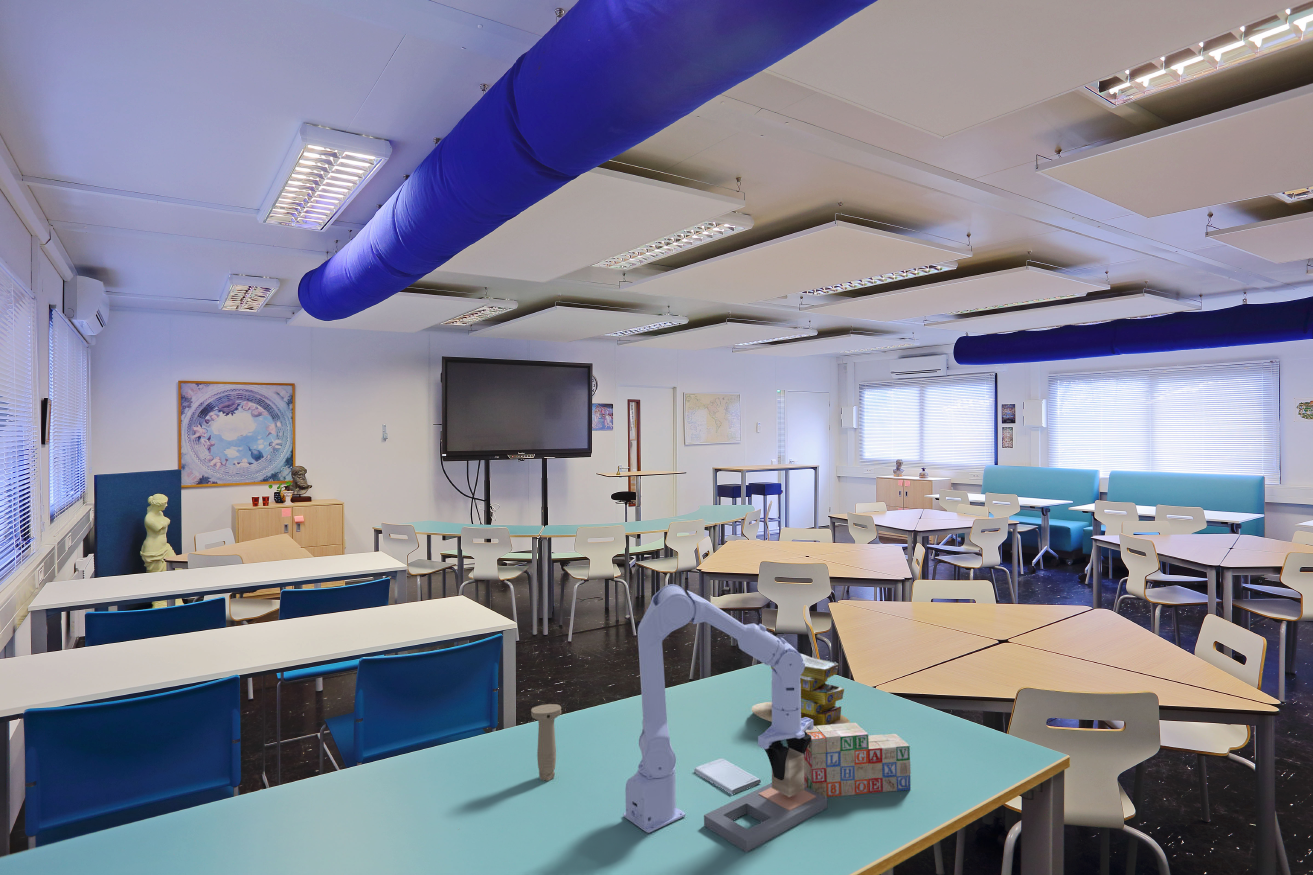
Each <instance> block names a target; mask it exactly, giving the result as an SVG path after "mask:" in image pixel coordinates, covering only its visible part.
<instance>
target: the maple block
mask: <svg viewBox="0 0 1313 875" xmlns="http://www.w3.org/2000/svg"><path fill="white" fill-rule="evenodd" d="M785 747H788V746H785ZM788 748H789V747H788ZM771 783H772V788H773V789H775V790H777V791H779V792H781V793H783V794H784V795H786V796H788V797H791V796H793V795H795V794H797V793H799V792H800V791H802V790H804V787H805V786H804V754H803V753H800V752H798V751H796V750H793V749H791V748H789V751H788V754H787V757H786V762H785V775H784V779H783V780H779V779H777V778H775V777H774V775H773V771H772V770H771Z"/></svg>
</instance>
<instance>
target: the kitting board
mask: <svg viewBox="0 0 1313 875" xmlns="http://www.w3.org/2000/svg"><path fill="white" fill-rule="evenodd" d="M826 809H828V797H825V796H823V795H821V794H819V793H817V792H815V791H813V790H810V789H808V788H806V787H805V786H804V790H802V791H800V792H799V793H797V794H795V795H793V796H791V797H788V796H786V795H784V794H783V793H781V792H779V791H777V790H775V789H773V788H772V782H771V783H769V784H767V785H764V786H762V787H760V788H758V789H755V790H753V791H752V792H750V793H747V794H746V795H743V796H741V797H739V798H736V799H734V800H732V801H730V802H729V803H727V804H726V803H725V804H724V805H722V806H720V807H718V808H715V809H714V810H712V811H710V812H708V813H705V814H704V815H703V826H704V827H706V828H707V829H708V830H710V831H712V832H714V833H715V834H717V835H719V836H720V837H721V838H723V839H725V840H726V841H727V842H729V843H731V844H733V845H734V846H736V847H737V848H739V849H741V850H742V851H743V852H746V853H748V852H750V851H752V850H753V849H755V848H757V847H759V846H761V845H762V844H764V843H766V842H768V841H769V840H771V839H774V838H775V837H777V836H779V835H780V834H782V833H784V832H786V831H788V830H789V829H791V828H793V827H795V826H797V825H799V824H800V823H802V822H804V821H806V820H808V819H809V818H811V817H813V816H815V815H816V814H819V813H821V812H822V811H824V810H826ZM744 814H745V815H748V814H749V816H750V815H751V816H750V817H752V818H754V819H755V818H756V819H755V820H757V819H758V821H759V820H760V821H759V822H760V823H758V824H756V825H755V826H752V827H750V828H749V829H748V828H746V827H744V826H742V825H740V823H737V822H735V820H736V818H737V819H739V818H740V816H741V817H742V815H743V816H745V815H744ZM738 817H739V818H738ZM734 819H735V820H734Z"/></svg>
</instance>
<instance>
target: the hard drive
mask: <svg viewBox="0 0 1313 875" xmlns="http://www.w3.org/2000/svg"><path fill="white" fill-rule="evenodd" d="M694 773H695V774H696V775H698V776H700V777H701V778H703V779H704V778H705V779H704V780H706V781H708V782H709V781H711V782H712V783H711V782H710V783H711V784H713V783H714V784H716V785H717V786H720V787H721V788H722V789H724V790H725V791H727V792H729V793H730V794H734V793H737V792H739V793H741V792H740V791H742V790H744V791H746V790H745V789H747V788H749V787H752V788H754V787H756V786H755V785H757V784H759V783H761V784H762V781H761V779H760V778H758V777H756V776H755V775H753V774H751V773H749V772H747V771H746V770H744V769H742V768H741V767H739V766H737V765H736V764H733V763H731V762H730V761H728V760H726V759H724V758H718V759H716V760H712V761H709V762H707V763H704V764H701V765H699V766H696V767H695V768H694ZM714 784H713V785H714ZM716 785H715V786H716ZM759 785H760V784H759ZM717 786H716V787H717ZM753 786H754V787H753ZM757 786H758V785H757ZM721 788H720V789H721ZM722 789H721V790H722ZM749 789H750V788H749ZM724 790H723V791H724ZM747 790H748V789H747ZM725 791H724V792H725ZM727 792H726V793H727ZM742 792H743V791H742ZM729 793H728V794H729ZM730 794H729V795H730ZM737 794H738V793H737ZM734 795H735V794H734Z"/></svg>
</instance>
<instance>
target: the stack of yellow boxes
mask: <svg viewBox="0 0 1313 875" xmlns="http://www.w3.org/2000/svg"><path fill="white" fill-rule="evenodd" d="M800 654H801V657H802V658H803V663H805V668H804V671H803V673H802V674H801V675H800V684H801V718H804V717H807V718H810V719H812V720H813V726H820V725H831V724H844V723H851V722H850V720H849V719H848V717H846V716H844V715H842V706H840V705H839V706H836V703H837V701H840V700H843V697H844V693H845V688H843V687H842V686H838V685H834V684H833V685H832V684H829V683H827V682H828V679H829V678H831V677H834V676H835V675H836V676H837V674H838V670H839V663H837V662H836V661H831V660H826V659H820V658H816V657H811V656H808V655H806V654H803V653H800ZM770 668H771V670H772V668H773V667H771V666H770ZM773 669H774V668H773ZM750 710H751V711H752V713H753V714H754V715H756V716H757V717H759V718H761V719H763V720H765V721H769V722H771V723H772V701H767V702H760V703H756V704H753V706H752V707H751V709H750Z"/></svg>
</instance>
